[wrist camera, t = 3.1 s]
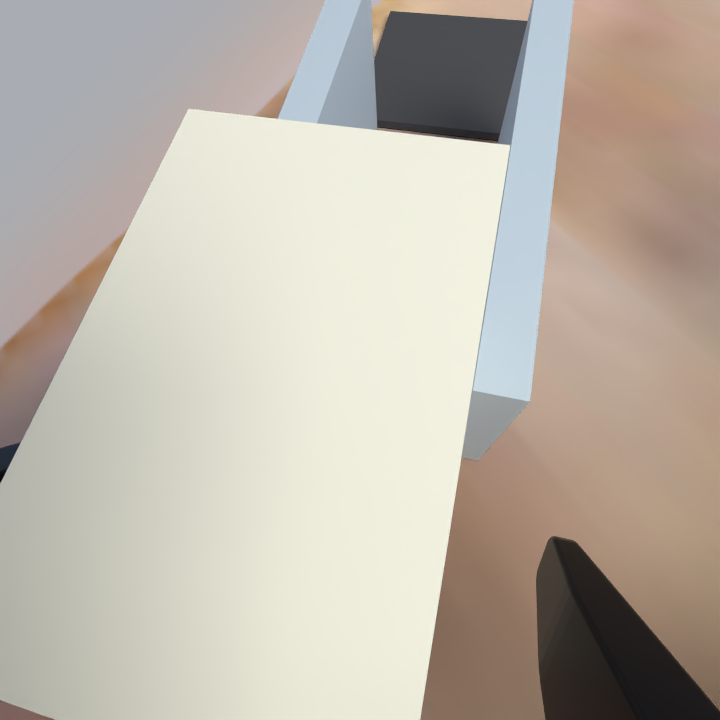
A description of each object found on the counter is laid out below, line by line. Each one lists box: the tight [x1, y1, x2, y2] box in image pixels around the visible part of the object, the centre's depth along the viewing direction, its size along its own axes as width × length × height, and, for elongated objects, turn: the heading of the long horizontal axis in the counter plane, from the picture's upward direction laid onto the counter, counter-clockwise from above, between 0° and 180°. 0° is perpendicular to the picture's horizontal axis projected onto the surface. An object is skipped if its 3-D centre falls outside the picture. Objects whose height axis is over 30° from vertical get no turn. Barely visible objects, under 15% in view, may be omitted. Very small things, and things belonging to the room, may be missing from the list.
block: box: [0, 109, 510, 720], centre depth 11 cm, size 7×4×12 cm, turn 167°
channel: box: [278, 0, 574, 461], centre depth 16 cm, size 14×8×7 cm, turn 167°
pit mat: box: [374, 11, 528, 141], centre depth 24 cm, size 8×8×1 cm
